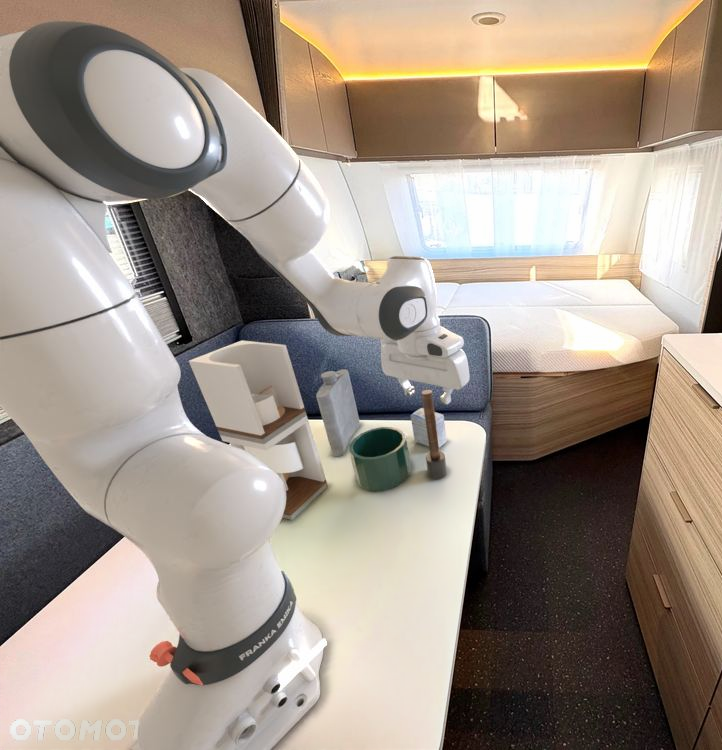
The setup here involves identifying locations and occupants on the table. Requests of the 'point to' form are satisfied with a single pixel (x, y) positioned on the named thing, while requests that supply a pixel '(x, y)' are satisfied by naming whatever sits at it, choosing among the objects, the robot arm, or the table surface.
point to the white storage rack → (263, 414)
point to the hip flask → (338, 409)
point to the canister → (380, 458)
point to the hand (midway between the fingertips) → (427, 398)
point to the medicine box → (421, 429)
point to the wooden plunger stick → (433, 440)
